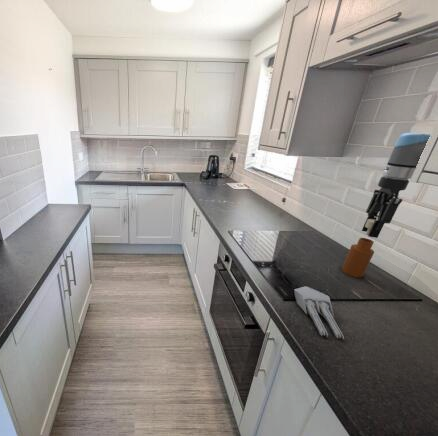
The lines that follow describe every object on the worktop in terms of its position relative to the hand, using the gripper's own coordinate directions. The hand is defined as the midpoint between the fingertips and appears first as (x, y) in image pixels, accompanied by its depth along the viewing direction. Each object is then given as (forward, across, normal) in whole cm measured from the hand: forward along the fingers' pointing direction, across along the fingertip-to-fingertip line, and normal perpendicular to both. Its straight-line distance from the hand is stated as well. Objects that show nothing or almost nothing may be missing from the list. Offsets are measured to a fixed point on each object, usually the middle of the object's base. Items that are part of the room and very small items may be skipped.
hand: (369, 233), depth 94 cm
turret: (+19, +35, -22) cm, 46 cm away
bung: (0, 0, 0) cm, 0 cm away
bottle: (+19, 0, 0) cm, 19 cm away
